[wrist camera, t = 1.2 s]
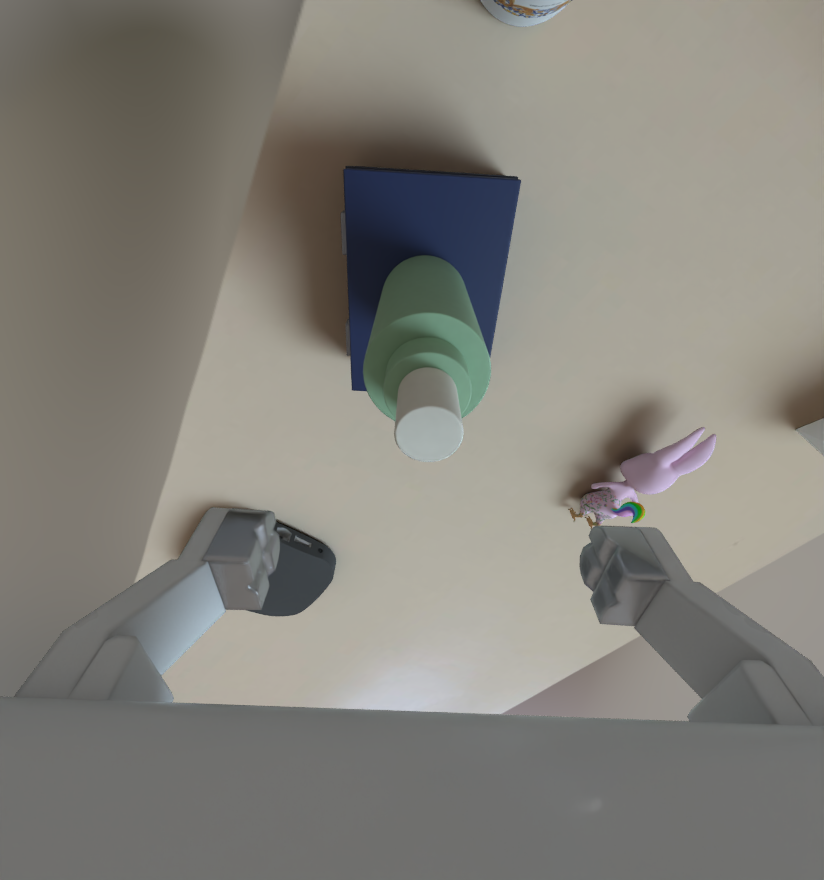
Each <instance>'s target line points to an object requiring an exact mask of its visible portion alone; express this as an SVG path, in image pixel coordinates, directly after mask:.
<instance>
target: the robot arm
mask: <svg viewBox="0 0 824 880" xmlns="http://www.w3.org/2000/svg"><path fill="white" fill-rule="evenodd" d="M275 523H276V519H275V515H274V512H272V511H262V510H248V509H234V508H232V509H228V508H214V507H212V508H210V509H209V510H208V511H207V512H206V513H205V515H204V516H203V518H202V520H201V521H200V523H199V525H198V526H197V528H196V530H195V531H194V533H193V535H192V536H191V538H190V540H189V541H188V543H187V545H186V546H185V548H184V550H183V551H182V553H181V555H180V556H179V558H178V560H170V561H168V562H167V563H165V564H164V565H162V566H161V567H159V568H158V569H156V570H155V571H153V572H152V573H150V574H149V575H147V576H145V577H144V578H142V579H141V580H139V581H138V582H136V583H135V584H133V585H132V586H130V587H129V588H127V589H126V590H125V591H123V592H121V593H120V594H118V595H117V596H115V597H114V598H112V599H111V600H109V601H108V602H106V603H105V604H103V605H102V606H100V607H99V608H97V609H96V610H94V611H93V612H91V613H90V614H88V615H86V616H85V617H83V618H82V619H81V620H79V621H78V622H76V623H74V624H73V625H71V626H70V627H68V628H67V629H65V630H64V631H63V632H62V633H61V634H60V636H59V637H58V639H57V640H56V641H55V642H54V644H53V645H52V647H51V648H50V649H49V650H48V652H47V653H46V655H45V656H44V657H43V658H42V660H41V661H40V663H39V664H38V665H37V667H36V668H35V669H34V670H33V672H32V673H31V674H30V676H29V677H28V678H27V680H26V681H25V683H24V684H23V685H22V686H21V688H20V689H19V690H18V692H17V693H16V694H15V696H14V697H3V696H0V880H824V677H823V676H822V674H821V673H820V672H819V670H818V669H817V668H816V667H815V665H814V664H813V663H812V662H811V661H810V660H809V659H808V658H806V657H805V656H803V655H802V654H800V653H799V652H798V651H796V650H795V649H793V648H792V647H791V646H789V645H788V644H786V643H785V642H784V641H782V640H781V639H779V638H778V637H776V636H775V635H773V634H772V633H771V632H769V631H768V630H767V629H765V628H764V627H762V626H761V625H759V624H758V623H757V622H755V621H754V620H752V619H751V618H749V617H748V616H747V615H745V614H744V613H742V612H741V611H740V610H738V609H737V608H735V607H734V606H733V605H731V604H730V603H728V602H727V601H726V600H724V599H723V598H721V597H720V596H718V595H717V594H716V593H714V592H713V591H711V590H710V589H709V588H707V587H706V586H704V585H703V584H701V583H700V582H693V580H692V579H691V577H690V576H689V574H688V573H687V571H686V570H685V568H684V567H683V565H682V563H681V562H680V560H679V559H678V557H677V556H676V554H675V553H674V551H673V550H672V548H671V547H670V545H669V544H668V542H667V541H666V539H665V537H664V536H663V534H662V533H661V532H660V531H659V530H658V529H657V528H651V527H625V526H595V527H593V528H592V529H591V531H590V534H589V538H590V540H591V543H589V544H588V545H586V546H585V547H583V550H582V552H581V555H580V572H581V576H582V579H583V581H584V584H585V585H586V586H587V587H589V588H590V589H591V590H592V591H593V594H592V597H591V599H590V600H591V602H592V605H593V607H594V610H595V612H596V615H597V617H598V620H599V622H600V624H610V625H625V626H635V627H634V628H635V629H636V630H637V631H638V633H639V634H640V635H641V636H642V637H643V638H644V639H645V640H646V641H647V642H648V643H649V644H650V645H651V646H652V647H653V648H654V649H655V650H656V651H657V652H658V653H659V654H660V656H661V657H662V658H663V659H664V660H665V661H666V662H667V663H668V664H669V665H670V666H671V667H672V668H673V669H674V670H675V671H676V672H677V673H678V674H679V675H680V676H681V677H682V679H683V680H684V681H685V682H686V683H687V684H688V685H689V686H690V687H691V688H692V689H693V690H694V691H695V692H696V693H697V694H698V695H699V696H700V697H701V698H702V700H701V701H700V702H699V703H698V704H697V705H696V706H695V707H694V708H693V709H692V710H691V711H690V712H689V714H688V716H687V717H688V719H689V721H665V720H637V719H610V718H583V717H557V716H556V717H555V716H529V715H502V714H475V713H448V712H420V711H392V710H365V709H337V708H309V707H281V706H254V705H226V704H198V703H172V702H173V699H174V697H173V694H172V692H171V690H170V689H169V687H168V686H167V684H166V683H165V681H164V679H163V678H162V676H161V675H162V674H163V673H164V672H165V671H166V670H167V669H168V668H169V667H170V666H171V665H172V664H173V663H174V662H175V661H176V660H177V659H178V658H179V657H180V656H182V655H183V654H184V653H185V652H186V651H187V650H188V649H189V648H190V647H191V646H192V645H193V644H194V643H195V642H196V641H197V640H198V639H199V638H200V637H201V636H202V635H203V634H204V633H205V632H206V631H207V630H208V629H209V628H210V627H211V626H212V625H213V624H214V623H215V622H216V621H217V620H218V619H219V618H220V617H221V616H222V615H223V614H224V613H225V612H226V610H261V609H262V606H263V603H264V601H265V598H266V595H267V592H268V589H269V581H268V576H269V575H270V574H271V573H273V572H274V571H275V569H276V566H277V563H278V558H279V552H280V539H279V534H278V533H277V532H276V531H275V530H274V526H275Z"/></svg>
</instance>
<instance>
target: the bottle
mask: <svg viewBox="0 0 824 880" xmlns="http://www.w3.org/2000/svg"><path fill="white" fill-rule="evenodd" d="M490 375H491V362H490V357H489V353H488V351H487V348H486V345H485V342H484V339H483V336H482V333H481V330H480V327H479V324H478V322H477V319H476V316H475V313H474V310H473V307H472V304H471V301H470V298H469V296H468V293H467V290H466V287H465V284H464V281H463V279H462V277H461V275H460V274H459V272H458V271H457V270H456V269H455V268H454V267H453V266H452V265H451V264H450V263H448V262H447V261H445V260H443V259H441V258H438V257H435V256H429V255H421V256H415V257H411V258H409V259H407V260H404V261H403V262H401V263H400V264H398V265H397V266H396V267H395V268H394V269H393V270H392V271H391V273H390V274H389V275H388V277H387V279H386V281H385V283H384V286H383V290H382V294H381V297H380V301H379V305H378V309H377V313H376V316H375V320H374V324H373V328H372V332H371V335H370V339H369V343H368V347H367V351H366V354H365V359H364V364H363V377H364V383H365V387H366V389H367V392H368V394H369V396H370V398H371V400H372V401H373V402H374V404H375V405H376V406H377V407H378V409H379V410H380V411H381V412H383V413H384V414H385V415H386V416H388V417H389V418H391V419H392V420H394V421H395V431H394V436H395V441H396V443H397V445H398V447H399V448H400V450H401V451H402V452H403V453H404V454H406V455H407V456H408V457H410V458H412V459H415V460H418V461H422V462H435V461H439V460H442V459H445V458H447V457H449V456H450V455H452V454H453V453H454V452H455V451H456V450H457V449H458V448H459V446H460V444H461V442H462V439H463V433H464V432H463V424H462V418H463V417H465V416H466V415H468V414H469V413H470V412H471V411H472V410H473V409H474V408H475V407H476V406H477V405H478V404H479V402H480V401H481V400H482V398H483V396H484V395H485V393H486V390H487V388H488V385H489V381H490Z"/></svg>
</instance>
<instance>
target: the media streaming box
mask: <svg viewBox="0 0 824 880" xmlns="http://www.w3.org/2000/svg"><path fill="white" fill-rule="evenodd" d="M274 530H275V531H276V532H277V533H278V534H279V539H280V552H279V558H278V563H277V566H276V569H275V571H274V572H273V573H271V574H270V575H269V576H268V581H269V589H268V592H267V595H266V598H265V601H264V603H263V606H262V609H261V610H248V611H251V612H255V613H259V614H263V615H268V616H290V615H295V614H298V613H300V612H302V611H303V610H305V609H306V608H307V607H308V606H310V605H311V604H312V603H313V602H314V601H315V600H316V599H317V598H318V597H319V596H320V595H321V594H322V593H323V592H324V590H325V589H326V588H327V587H328V585H329V584H330V583H331V581H332V579H333V575H334V570H335V565H336V558H335V555H334V553H333V552H332V551H331V550H330V549H329V548H328V547H327V546H326V545H324V544H322V543H320V542H318V541H316V540H314V539H312V538H310V537H308V536H306V535H304V534H301V533H299V532H297V531H295V530H293V529H291V528H289V527H286V526H284V525H282V524H279V523H277V522H276V523H275V526H274Z"/></svg>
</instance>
